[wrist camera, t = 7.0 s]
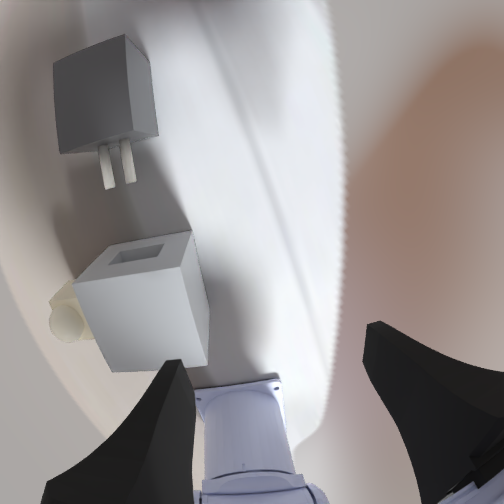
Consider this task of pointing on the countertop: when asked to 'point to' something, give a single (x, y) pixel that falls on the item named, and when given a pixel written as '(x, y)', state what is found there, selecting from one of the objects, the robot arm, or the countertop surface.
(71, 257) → the countertop surface
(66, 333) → the night light
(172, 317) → the socket cube
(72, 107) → the block
